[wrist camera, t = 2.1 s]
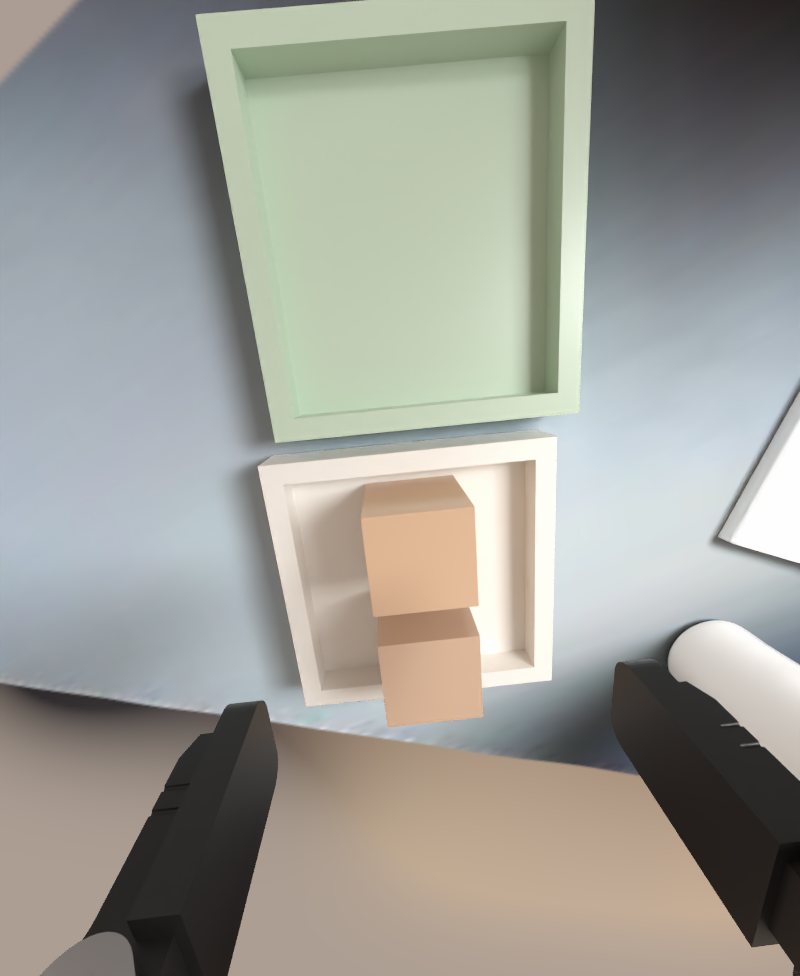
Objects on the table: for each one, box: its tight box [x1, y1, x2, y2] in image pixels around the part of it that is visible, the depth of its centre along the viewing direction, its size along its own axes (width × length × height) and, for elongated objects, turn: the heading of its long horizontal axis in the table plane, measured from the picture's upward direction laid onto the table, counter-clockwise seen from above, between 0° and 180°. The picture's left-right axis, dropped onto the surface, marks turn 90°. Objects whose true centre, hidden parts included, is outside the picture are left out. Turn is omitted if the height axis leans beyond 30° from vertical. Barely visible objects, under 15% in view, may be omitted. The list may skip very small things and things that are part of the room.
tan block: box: [377, 607, 483, 727], centre depth 20 cm, size 4×4×5 cm
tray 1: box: [195, 0, 595, 443], centre depth 17 cm, size 14×15×2 cm
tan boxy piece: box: [360, 475, 479, 617], centre depth 18 cm, size 4×4×5 cm
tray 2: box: [258, 429, 557, 707], centre depth 21 cm, size 14×14×2 cm
